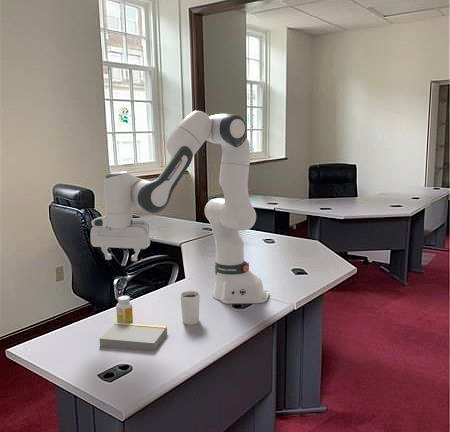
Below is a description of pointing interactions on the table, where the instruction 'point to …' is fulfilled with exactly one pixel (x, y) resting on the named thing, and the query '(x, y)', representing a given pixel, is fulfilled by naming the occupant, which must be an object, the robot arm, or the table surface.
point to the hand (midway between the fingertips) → (121, 260)
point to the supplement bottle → (124, 310)
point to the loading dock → (134, 336)
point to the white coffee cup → (190, 307)
